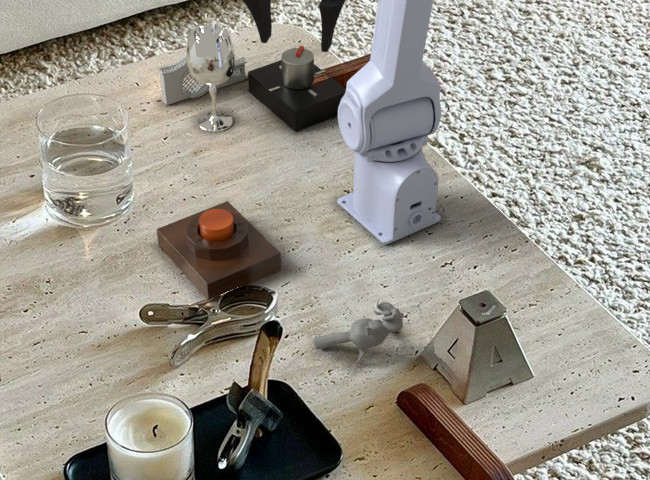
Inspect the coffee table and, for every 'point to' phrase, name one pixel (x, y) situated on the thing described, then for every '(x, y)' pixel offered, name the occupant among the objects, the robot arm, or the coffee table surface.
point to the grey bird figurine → (366, 330)
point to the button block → (219, 254)
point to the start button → (216, 225)
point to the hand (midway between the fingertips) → (296, 43)
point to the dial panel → (295, 97)
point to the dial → (297, 68)
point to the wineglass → (211, 68)
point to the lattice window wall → (178, 71)
